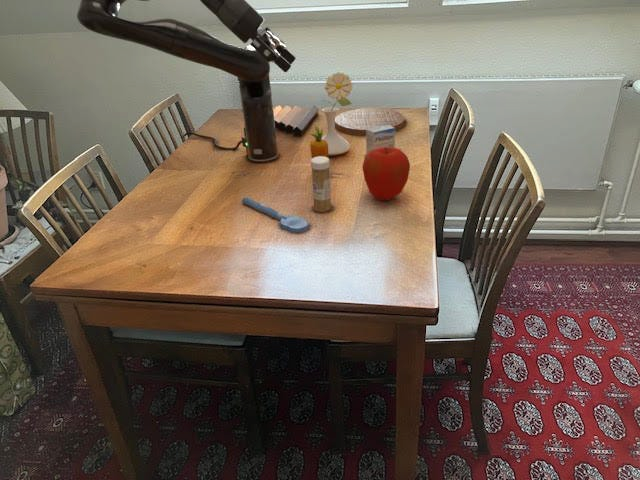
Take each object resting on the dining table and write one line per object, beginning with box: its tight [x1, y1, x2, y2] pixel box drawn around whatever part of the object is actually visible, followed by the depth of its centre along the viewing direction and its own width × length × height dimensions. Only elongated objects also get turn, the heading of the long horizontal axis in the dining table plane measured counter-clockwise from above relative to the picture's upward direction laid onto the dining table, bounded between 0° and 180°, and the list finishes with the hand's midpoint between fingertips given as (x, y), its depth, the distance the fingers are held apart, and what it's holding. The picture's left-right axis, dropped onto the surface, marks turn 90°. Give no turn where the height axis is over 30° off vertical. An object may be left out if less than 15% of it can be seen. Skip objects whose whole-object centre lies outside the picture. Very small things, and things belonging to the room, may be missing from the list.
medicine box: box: [365, 125, 396, 156], centre depth 161 cm, size 8×4×9 cm, turn 117°
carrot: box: [309, 125, 329, 159], centre depth 147 cm, size 5×5×15 cm
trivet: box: [335, 107, 405, 136], centre depth 190 cm, size 25×25×2 cm
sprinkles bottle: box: [310, 156, 332, 213], centre depth 131 cm, size 5×5×14 cm
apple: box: [361, 147, 411, 201], centre depth 134 cm, size 12×12×14 cm
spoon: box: [241, 196, 309, 234], centre depth 132 cm, size 24×5×2 cm, turn 45°
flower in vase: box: [321, 71, 354, 156], centre depth 161 cm, size 13×11×25 cm
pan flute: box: [273, 104, 319, 137], centre depth 194 cm, size 25×3×25 cm
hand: (291, 65), depth 130 cm, fingers open, 8 cm apart
